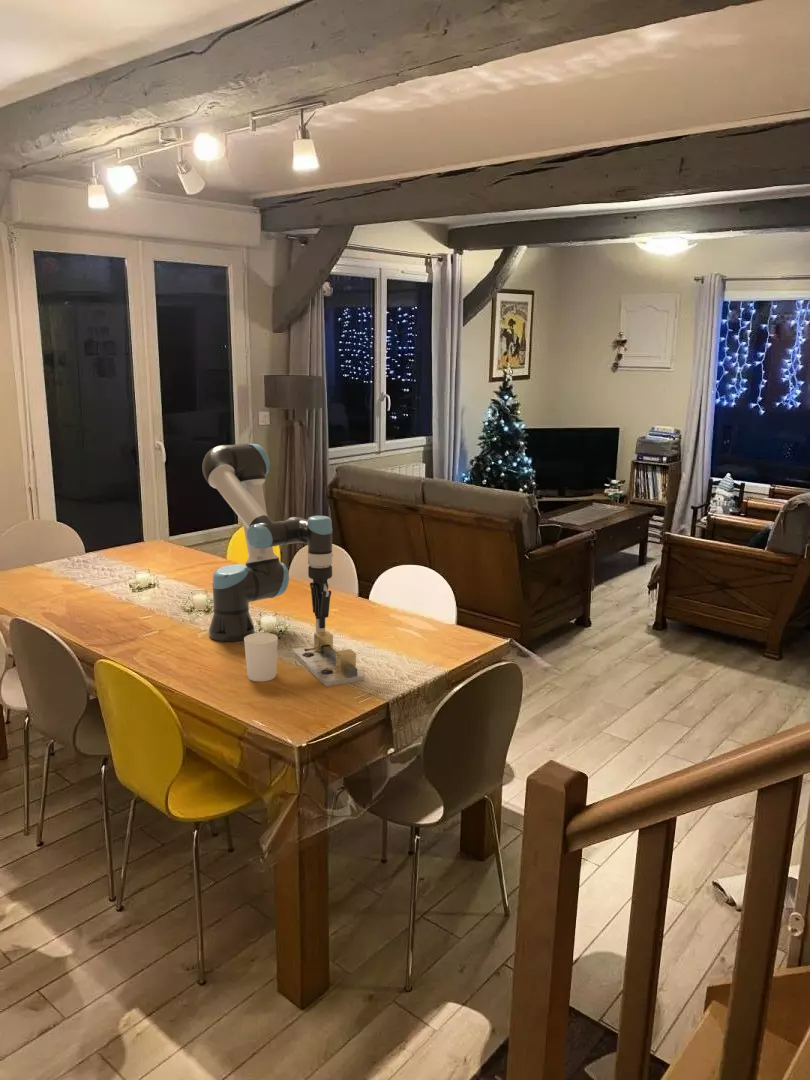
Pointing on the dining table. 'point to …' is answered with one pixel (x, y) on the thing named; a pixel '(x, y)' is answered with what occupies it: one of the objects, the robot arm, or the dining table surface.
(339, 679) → the bolt plate
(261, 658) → the candle holder
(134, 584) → the dining table surface
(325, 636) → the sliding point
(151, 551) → the dining table surface
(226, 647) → the dining table surface
